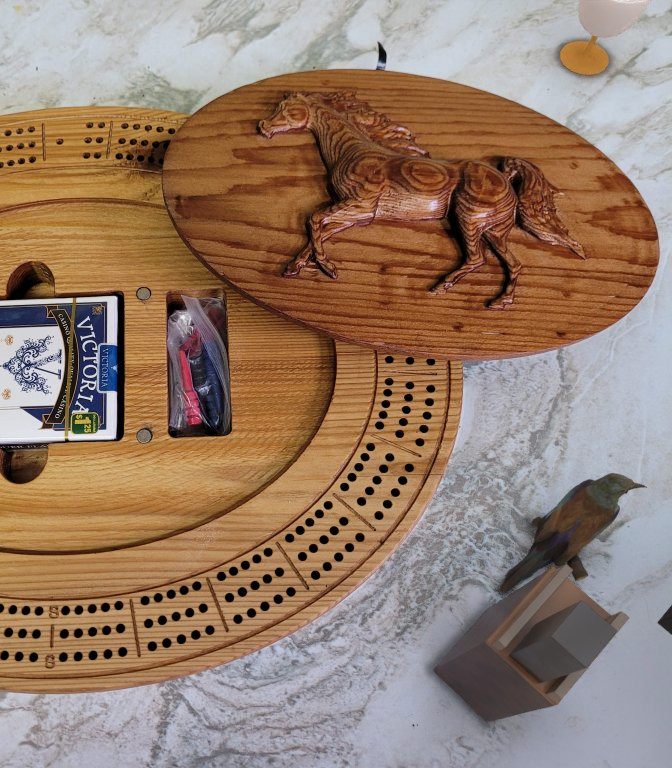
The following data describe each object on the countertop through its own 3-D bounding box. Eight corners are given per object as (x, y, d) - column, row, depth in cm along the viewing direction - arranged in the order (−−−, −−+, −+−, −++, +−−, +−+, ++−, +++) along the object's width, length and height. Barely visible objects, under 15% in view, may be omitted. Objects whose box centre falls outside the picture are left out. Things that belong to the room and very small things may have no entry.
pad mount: (619, 627, 91) (680, 602, 79) (553, 706, 87) (606, 693, 76) (550, 567, 94) (599, 536, 82) (484, 642, 91) (525, 620, 79)
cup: (546, 71, 158) (583, -6, 143) (558, 31, 163) (595, -48, 147) (610, 86, 156) (654, 10, 140) (620, 45, 160) (664, -34, 145)
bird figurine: (532, 625, 112) (638, 543, 100) (476, 569, 116) (572, 482, 104) (568, 585, 121) (671, 505, 108) (516, 534, 125) (609, 451, 112)
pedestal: (542, 657, 111) (619, 627, 91) (486, 722, 108) (553, 706, 87) (488, 608, 114) (550, 567, 94) (432, 669, 111) (484, 642, 91)
